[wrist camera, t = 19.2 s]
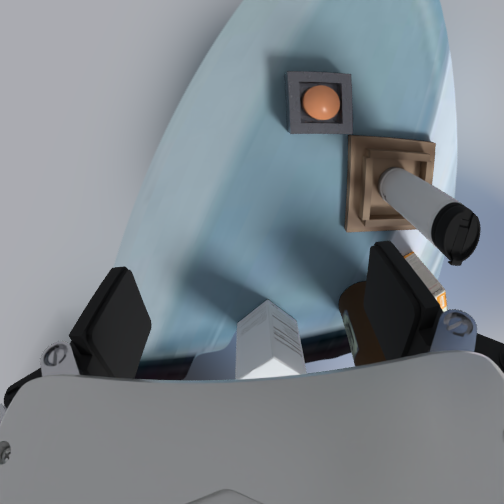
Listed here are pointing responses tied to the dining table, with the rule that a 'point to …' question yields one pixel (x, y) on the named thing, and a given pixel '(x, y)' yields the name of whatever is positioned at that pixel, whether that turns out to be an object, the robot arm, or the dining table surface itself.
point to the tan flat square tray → (369, 171)
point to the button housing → (307, 125)
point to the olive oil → (359, 326)
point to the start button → (320, 102)
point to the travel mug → (432, 213)
